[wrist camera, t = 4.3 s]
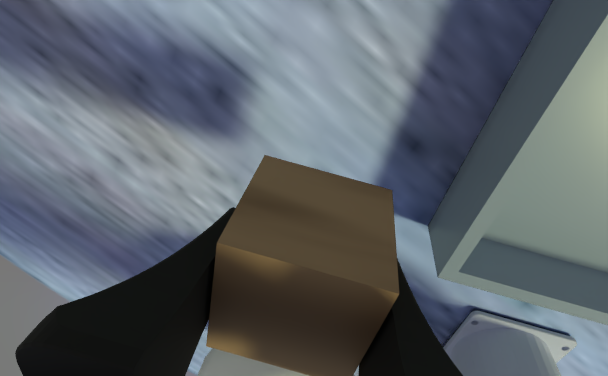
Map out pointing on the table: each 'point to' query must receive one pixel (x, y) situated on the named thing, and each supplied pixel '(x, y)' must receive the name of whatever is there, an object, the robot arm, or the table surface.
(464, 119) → the table surface
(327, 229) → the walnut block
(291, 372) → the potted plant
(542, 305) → the slate bin
